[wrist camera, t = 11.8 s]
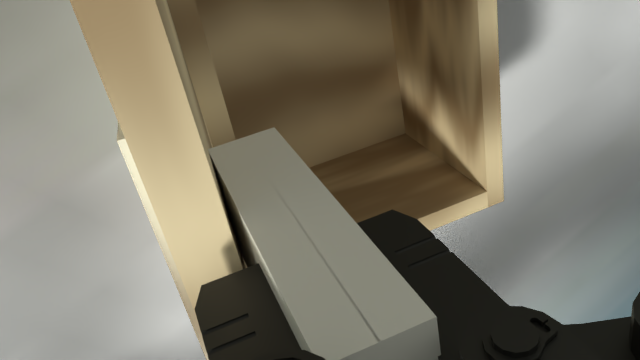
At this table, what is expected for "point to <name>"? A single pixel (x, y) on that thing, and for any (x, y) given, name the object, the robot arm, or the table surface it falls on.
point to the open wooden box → (359, 94)
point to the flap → (163, 139)
